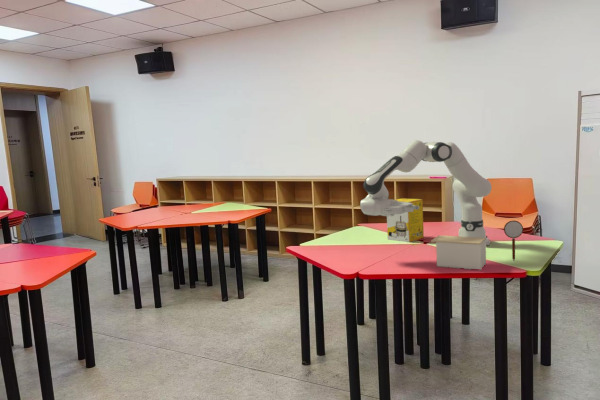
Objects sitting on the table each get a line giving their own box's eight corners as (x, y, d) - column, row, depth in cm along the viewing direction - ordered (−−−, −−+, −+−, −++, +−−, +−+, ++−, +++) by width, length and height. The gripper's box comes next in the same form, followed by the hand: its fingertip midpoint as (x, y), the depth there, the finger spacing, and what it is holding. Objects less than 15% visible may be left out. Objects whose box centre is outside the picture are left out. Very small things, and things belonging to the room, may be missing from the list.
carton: (444, 260, 225) (443, 237, 224) (486, 263, 215) (485, 239, 213) (436, 266, 215) (436, 242, 213) (480, 270, 204) (480, 244, 203)
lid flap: (438, 236, 226) (438, 235, 226) (485, 238, 214) (485, 237, 214) (430, 241, 215) (430, 240, 214) (480, 244, 202) (480, 243, 202)
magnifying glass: (522, 260, 216) (522, 220, 214) (523, 261, 215) (523, 220, 213) (503, 260, 218) (503, 220, 216) (504, 261, 217) (504, 221, 215)
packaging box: (387, 239, 286) (386, 201, 283) (402, 235, 297) (401, 198, 294) (408, 242, 274) (407, 202, 271) (423, 237, 284) (422, 199, 282)
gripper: (382, 203, 222) (409, 204, 214) (396, 199, 239) (421, 200, 232) (382, 216, 222) (409, 217, 215) (396, 211, 240) (421, 212, 232)
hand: (416, 208), depth 223 cm, fingers open, 8 cm apart
